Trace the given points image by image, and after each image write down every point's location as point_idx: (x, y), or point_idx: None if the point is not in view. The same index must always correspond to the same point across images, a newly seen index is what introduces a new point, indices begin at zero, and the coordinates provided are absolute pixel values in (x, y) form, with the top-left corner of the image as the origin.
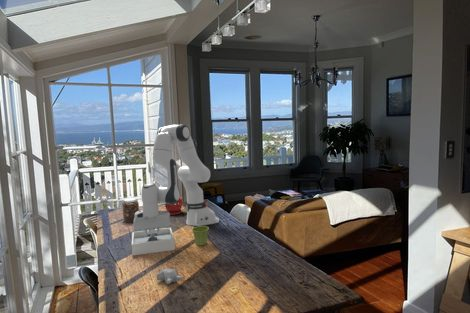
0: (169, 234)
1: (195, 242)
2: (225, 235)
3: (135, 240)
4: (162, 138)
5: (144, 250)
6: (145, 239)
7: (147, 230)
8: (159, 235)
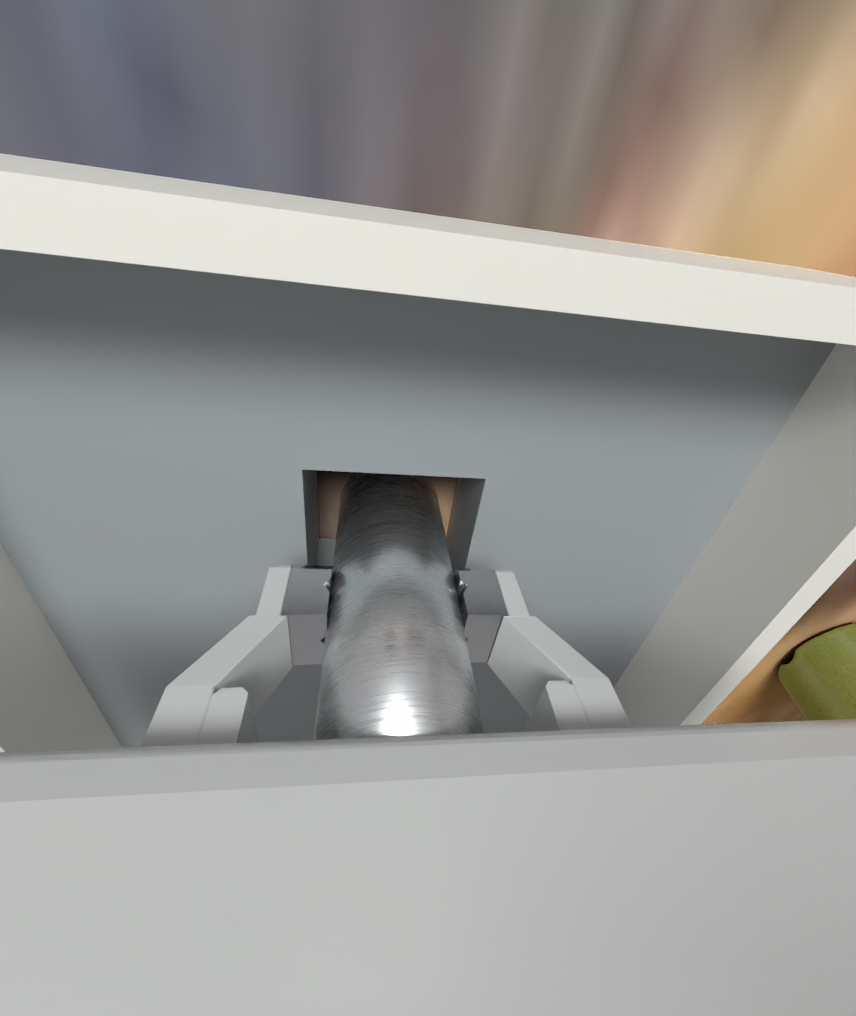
0: (768, 425)
1: (797, 676)
2: None
3: (8, 498)
4: None
5: None
6: (245, 518)
7: (240, 228)
8: (572, 391)
